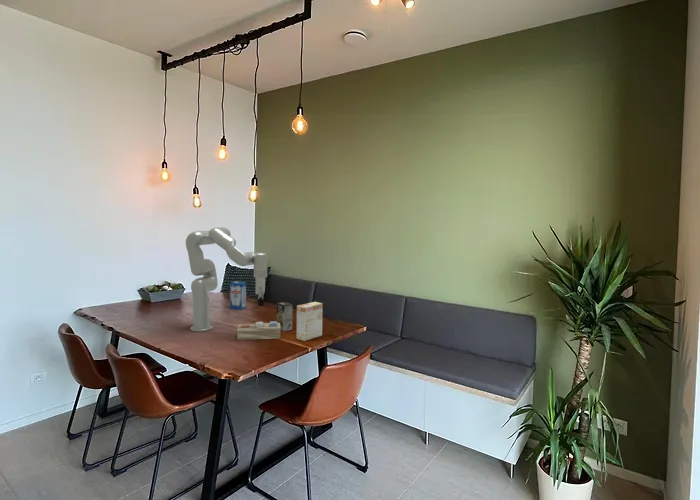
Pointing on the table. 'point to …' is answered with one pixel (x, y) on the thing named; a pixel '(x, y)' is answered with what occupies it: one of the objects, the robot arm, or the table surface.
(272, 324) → the slate-blue key
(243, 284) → the milk carton
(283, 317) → the coffee box
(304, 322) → the coffeecake box
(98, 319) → the table surface
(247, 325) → the terracotta key
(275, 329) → the key console
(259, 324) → the white key
